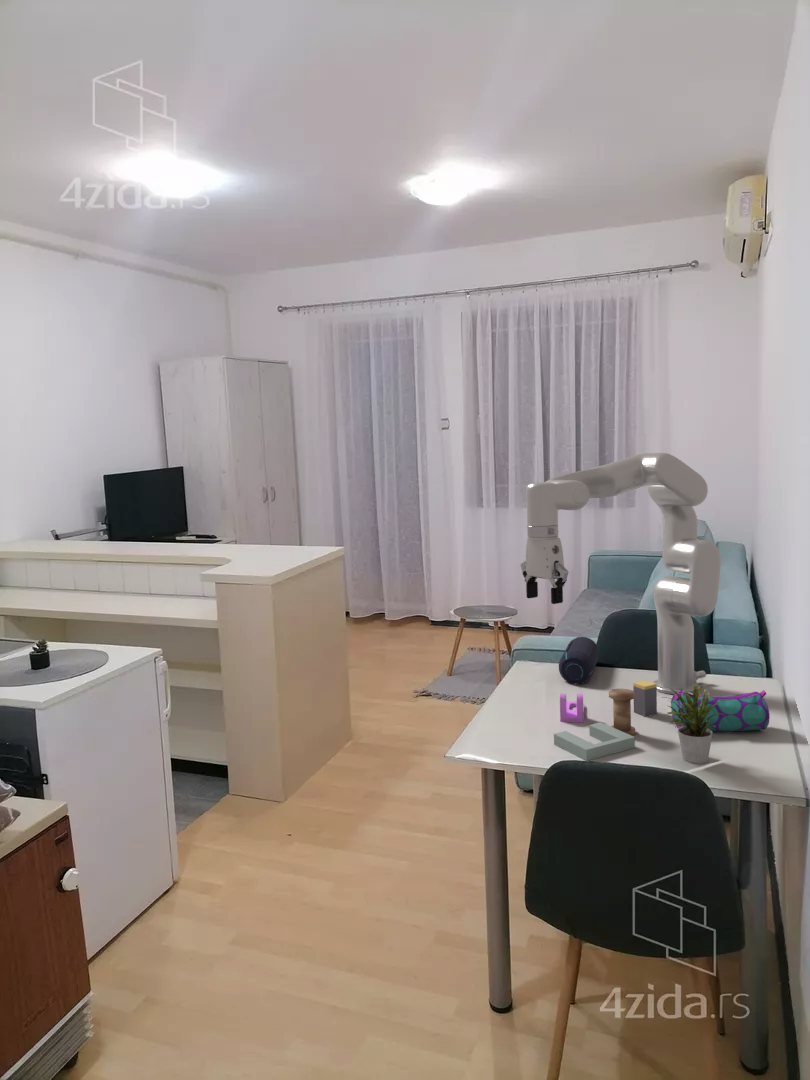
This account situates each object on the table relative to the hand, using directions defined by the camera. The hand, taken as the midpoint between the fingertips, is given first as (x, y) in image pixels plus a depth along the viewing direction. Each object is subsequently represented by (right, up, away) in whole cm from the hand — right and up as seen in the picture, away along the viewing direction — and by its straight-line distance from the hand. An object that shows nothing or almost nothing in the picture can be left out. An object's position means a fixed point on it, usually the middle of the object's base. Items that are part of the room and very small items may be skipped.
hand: (544, 600), depth 191 cm
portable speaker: (+18, -26, +41) cm, 52 cm away
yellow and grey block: (+27, -30, +5) cm, 40 cm away
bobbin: (+17, -31, -7) cm, 37 cm away
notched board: (+8, -32, -14) cm, 36 cm away
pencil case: (+41, -31, -8) cm, 51 cm away
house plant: (+28, -33, -23) cm, 49 cm away
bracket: (+9, -30, +8) cm, 33 cm away
